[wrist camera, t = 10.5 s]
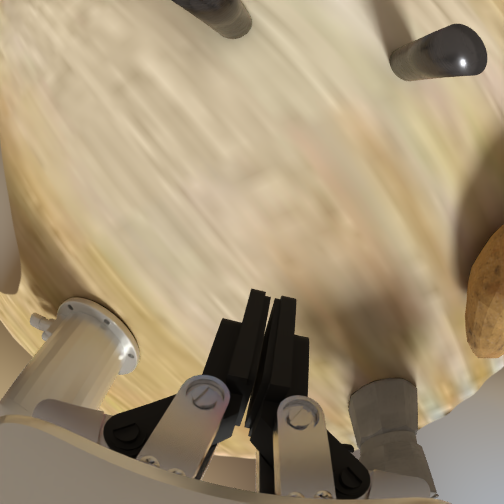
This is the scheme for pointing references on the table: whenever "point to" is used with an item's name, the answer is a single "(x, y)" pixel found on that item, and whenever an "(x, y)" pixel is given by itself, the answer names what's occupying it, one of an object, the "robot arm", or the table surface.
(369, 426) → the coffeepot
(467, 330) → the potato
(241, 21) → the post
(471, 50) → the post
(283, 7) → the table surface
